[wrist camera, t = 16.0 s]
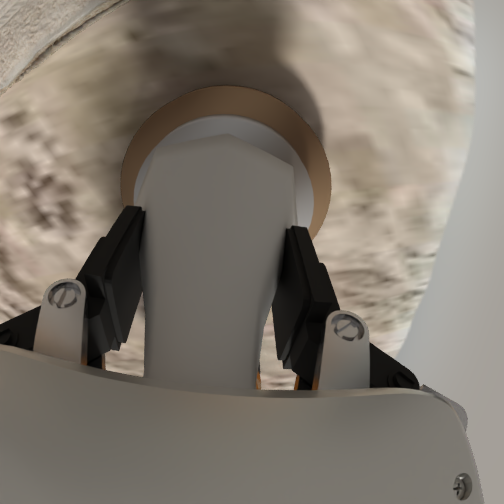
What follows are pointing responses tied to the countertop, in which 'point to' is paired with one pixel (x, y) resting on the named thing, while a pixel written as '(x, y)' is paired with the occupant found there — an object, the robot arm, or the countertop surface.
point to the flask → (211, 257)
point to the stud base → (233, 104)
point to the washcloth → (41, 31)
